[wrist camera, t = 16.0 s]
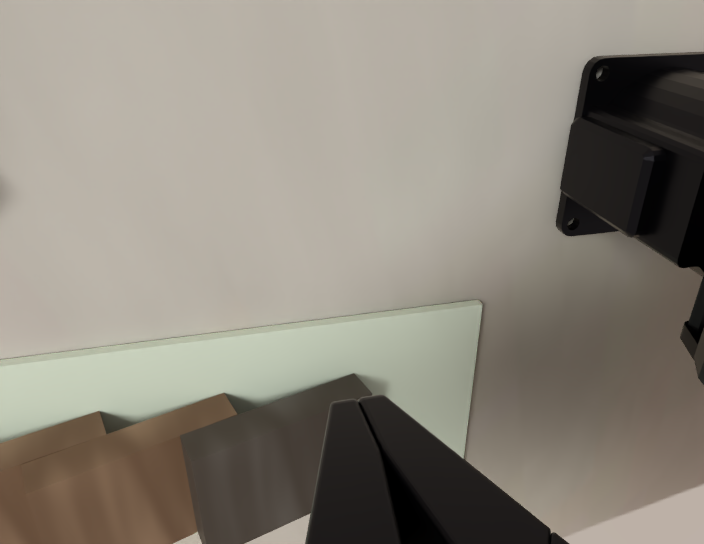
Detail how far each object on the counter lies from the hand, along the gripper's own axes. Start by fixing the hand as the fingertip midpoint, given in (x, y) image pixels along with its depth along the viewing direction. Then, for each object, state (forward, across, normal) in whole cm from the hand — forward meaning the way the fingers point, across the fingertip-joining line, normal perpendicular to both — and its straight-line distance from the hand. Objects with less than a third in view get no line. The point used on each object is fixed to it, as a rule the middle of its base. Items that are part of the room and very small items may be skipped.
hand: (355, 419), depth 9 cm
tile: (+11, -3, +11) cm, 16 cm away
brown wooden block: (+11, +2, +11) cm, 16 cm away
